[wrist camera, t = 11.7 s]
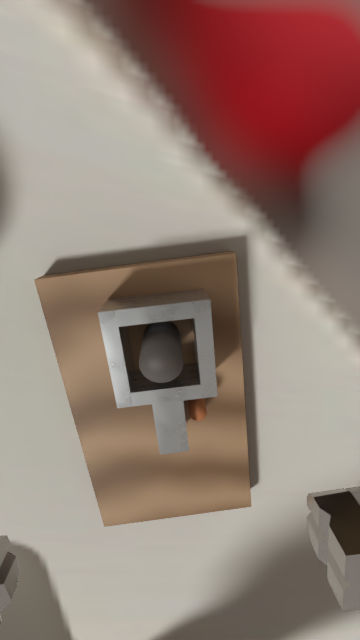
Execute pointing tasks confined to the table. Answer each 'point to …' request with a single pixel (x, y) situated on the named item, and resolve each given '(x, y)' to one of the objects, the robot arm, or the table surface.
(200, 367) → the grey square frame
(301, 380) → the table surface
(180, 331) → the board
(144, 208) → the table surface
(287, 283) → the table surface
